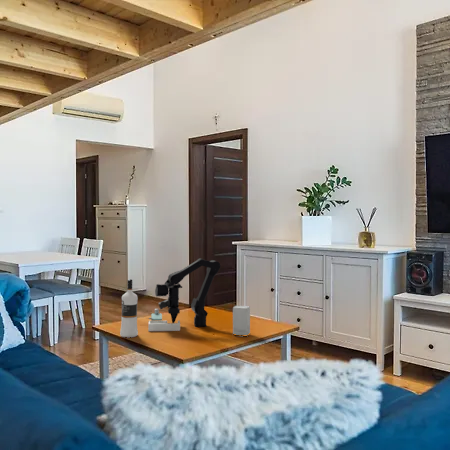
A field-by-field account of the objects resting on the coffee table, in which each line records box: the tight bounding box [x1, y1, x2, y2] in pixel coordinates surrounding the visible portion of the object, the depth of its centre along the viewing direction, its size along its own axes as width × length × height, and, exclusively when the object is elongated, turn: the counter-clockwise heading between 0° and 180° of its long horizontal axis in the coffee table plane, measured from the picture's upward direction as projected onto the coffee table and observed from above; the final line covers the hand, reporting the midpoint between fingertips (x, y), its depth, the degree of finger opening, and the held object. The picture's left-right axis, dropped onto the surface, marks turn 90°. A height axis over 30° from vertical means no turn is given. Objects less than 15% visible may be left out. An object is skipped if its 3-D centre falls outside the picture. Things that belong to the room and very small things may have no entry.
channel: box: [147, 320, 181, 332], centre depth 263 cm, size 18×8×4 cm, turn 98°
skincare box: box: [232, 305, 251, 335], centre depth 254 cm, size 8×7×16 cm
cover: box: [148, 308, 163, 321], centre depth 272 cm, size 15×8×4 cm, turn 9°
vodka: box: [119, 279, 139, 339], centre depth 248 cm, size 9×9×30 cm
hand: (173, 322), depth 268 cm, fingers closed
